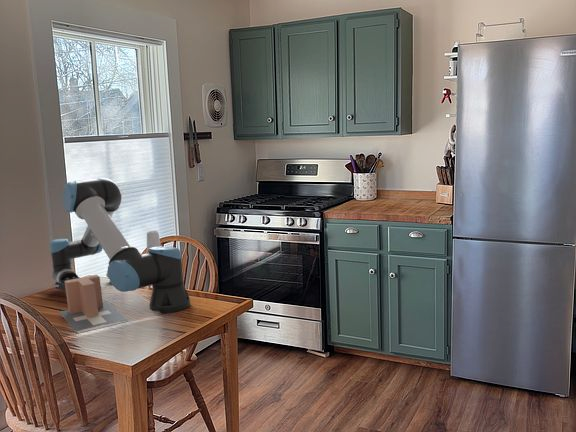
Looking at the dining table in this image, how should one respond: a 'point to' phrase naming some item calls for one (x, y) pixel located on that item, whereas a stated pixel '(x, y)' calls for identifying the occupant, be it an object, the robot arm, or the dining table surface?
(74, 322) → the slate board
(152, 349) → the dining table surface
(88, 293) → the t block
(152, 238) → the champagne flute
